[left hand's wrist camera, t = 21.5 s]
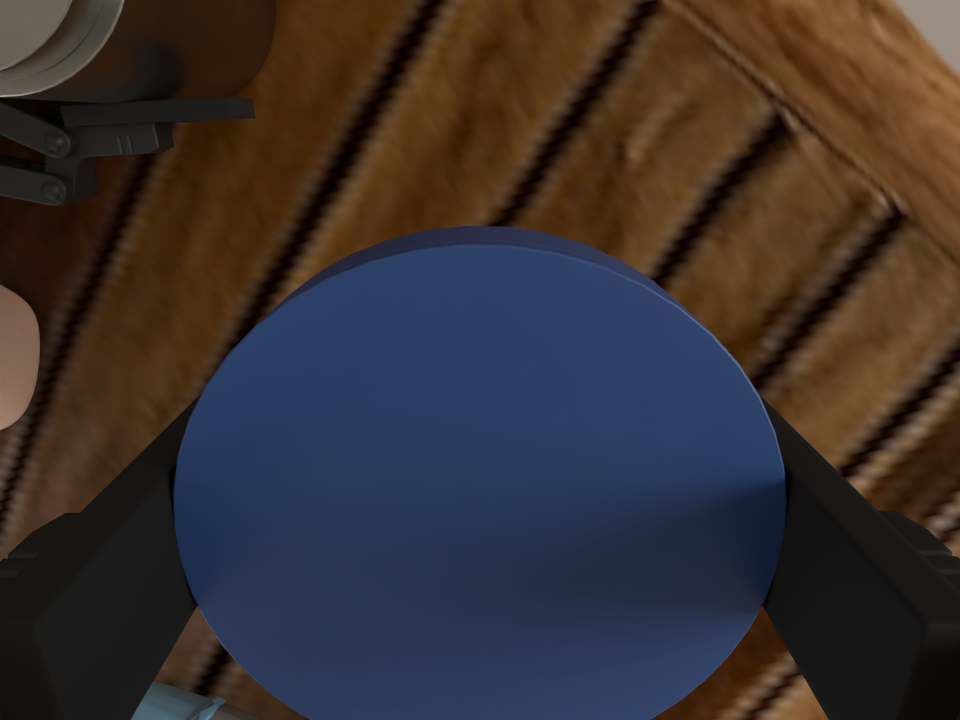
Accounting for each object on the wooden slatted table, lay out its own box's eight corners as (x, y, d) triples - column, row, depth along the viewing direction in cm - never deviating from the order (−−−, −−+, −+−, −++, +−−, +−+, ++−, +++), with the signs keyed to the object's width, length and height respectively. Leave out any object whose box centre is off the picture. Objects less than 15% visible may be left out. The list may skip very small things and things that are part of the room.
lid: (298, 716, 14) (274, 793, 12) (133, 283, 11) (71, 311, 9) (753, 655, 13) (790, 727, 12) (736, 172, 10) (785, 183, 8)
